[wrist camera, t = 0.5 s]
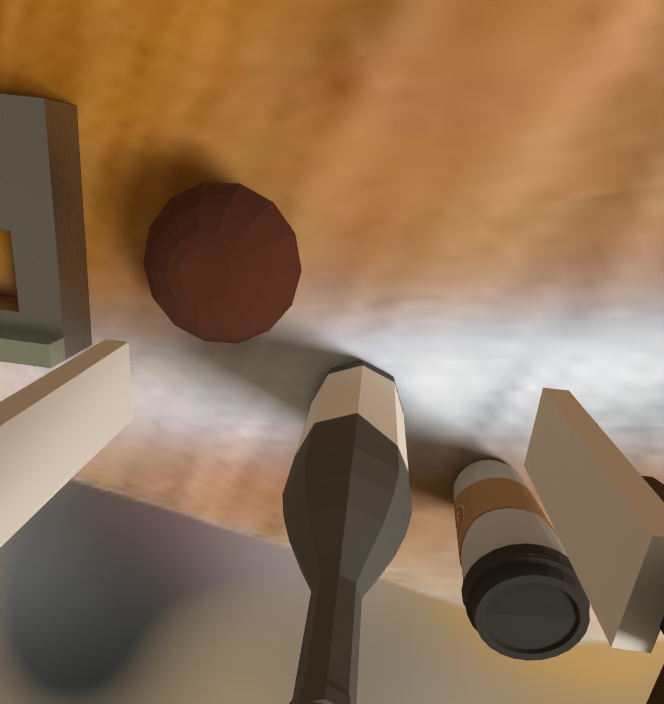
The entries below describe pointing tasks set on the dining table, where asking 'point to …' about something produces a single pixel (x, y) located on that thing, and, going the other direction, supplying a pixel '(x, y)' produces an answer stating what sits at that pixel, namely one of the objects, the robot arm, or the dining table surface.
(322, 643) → the wine bottle
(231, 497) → the dining table surface
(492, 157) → the dining table surface
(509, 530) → the coffee cup
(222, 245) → the muffin
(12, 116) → the jig
